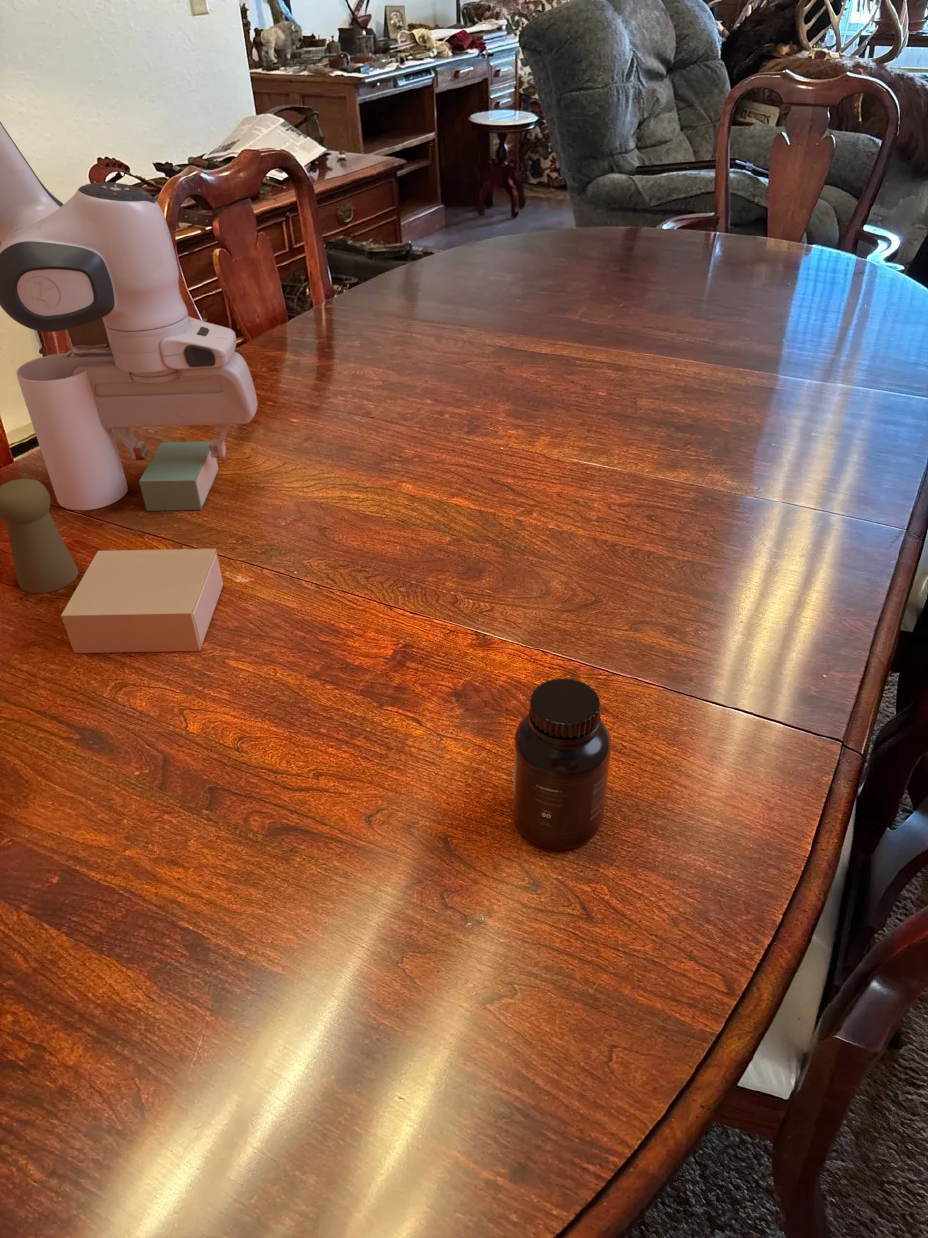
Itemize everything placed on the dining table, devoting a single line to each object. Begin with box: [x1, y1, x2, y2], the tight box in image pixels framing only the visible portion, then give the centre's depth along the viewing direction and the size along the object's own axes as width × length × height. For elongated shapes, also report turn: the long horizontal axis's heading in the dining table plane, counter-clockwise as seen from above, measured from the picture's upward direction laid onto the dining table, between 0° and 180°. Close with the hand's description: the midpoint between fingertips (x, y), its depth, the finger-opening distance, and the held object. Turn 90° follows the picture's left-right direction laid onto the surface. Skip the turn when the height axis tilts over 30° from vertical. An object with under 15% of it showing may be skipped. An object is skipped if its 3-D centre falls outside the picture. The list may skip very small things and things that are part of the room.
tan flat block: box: [60, 548, 224, 654], centre depth 90 cm, size 12×11×4 cm
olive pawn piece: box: [0, 478, 79, 594], centre depth 94 cm, size 6×6×11 cm
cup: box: [16, 353, 129, 511], centre depth 107 cm, size 8×8×16 cm
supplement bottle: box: [512, 677, 612, 851], centre depth 67 cm, size 7×7×12 cm
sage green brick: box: [138, 440, 220, 512], centre depth 111 cm, size 6×10×4 cm, turn 0°
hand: (179, 456), depth 110 cm, fingers open, 8 cm apart
